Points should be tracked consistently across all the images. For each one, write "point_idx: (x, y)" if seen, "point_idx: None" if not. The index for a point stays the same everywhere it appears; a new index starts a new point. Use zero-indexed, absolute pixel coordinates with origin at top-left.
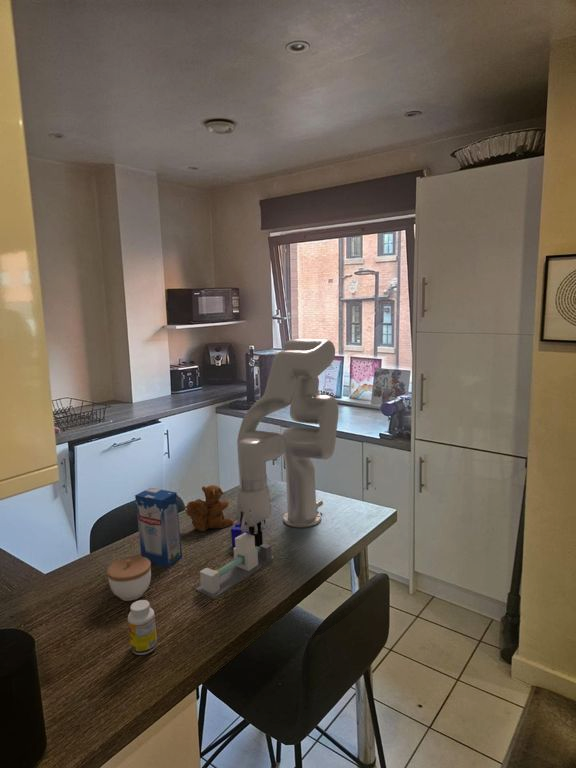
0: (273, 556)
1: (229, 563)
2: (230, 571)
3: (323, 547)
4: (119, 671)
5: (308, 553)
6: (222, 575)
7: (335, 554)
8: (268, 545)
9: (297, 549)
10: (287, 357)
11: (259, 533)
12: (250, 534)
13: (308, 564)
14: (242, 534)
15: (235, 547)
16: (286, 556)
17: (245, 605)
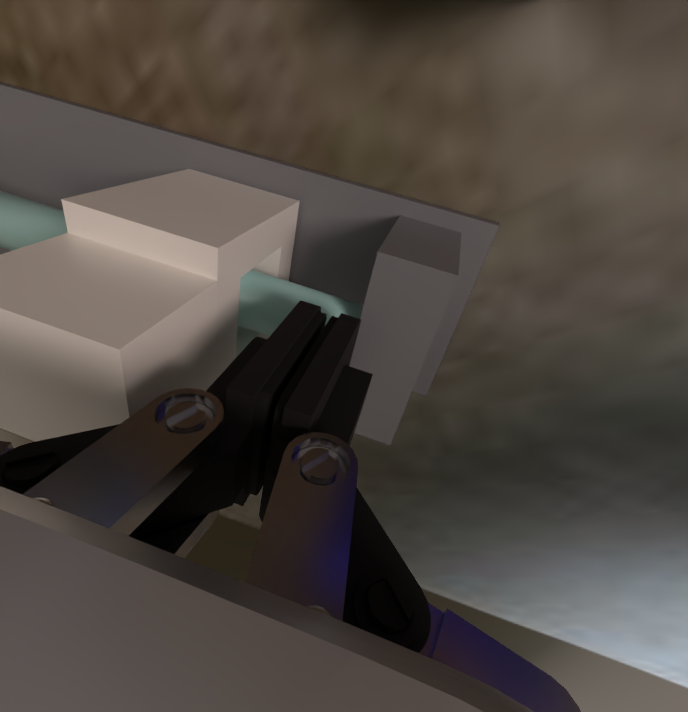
0: (427, 385)
1: (1, 234)
2: (127, 175)
3: (624, 593)
4: None
5: (533, 537)
6: (61, 144)
7: (542, 625)
8: (383, 428)
9: (581, 486)
10: None
11: (241, 502)
12: (207, 390)
13: (412, 539)
14: (59, 339)
15: (88, 211)
16: (468, 444)
17: None
